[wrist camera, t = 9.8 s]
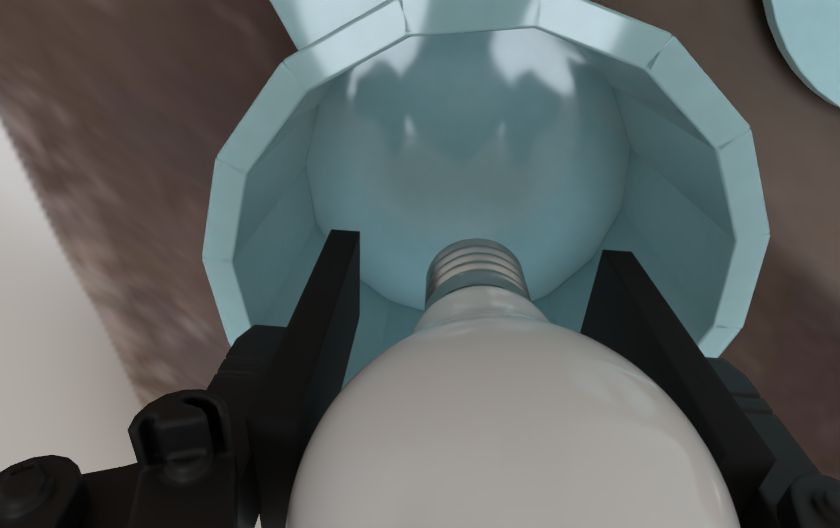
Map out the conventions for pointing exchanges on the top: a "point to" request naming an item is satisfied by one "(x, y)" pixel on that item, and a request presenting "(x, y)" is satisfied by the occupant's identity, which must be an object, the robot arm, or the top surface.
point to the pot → (485, 164)
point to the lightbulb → (503, 424)
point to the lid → (809, 42)
